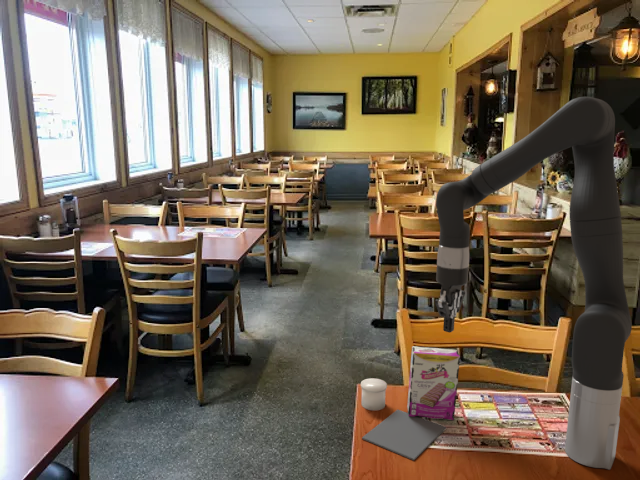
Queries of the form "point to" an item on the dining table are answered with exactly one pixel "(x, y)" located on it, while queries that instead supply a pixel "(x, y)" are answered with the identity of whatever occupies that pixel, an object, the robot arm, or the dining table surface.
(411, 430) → the mat
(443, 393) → the candy bar box
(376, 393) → the sugar bowl
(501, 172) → the robot arm
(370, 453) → the dining table surface
